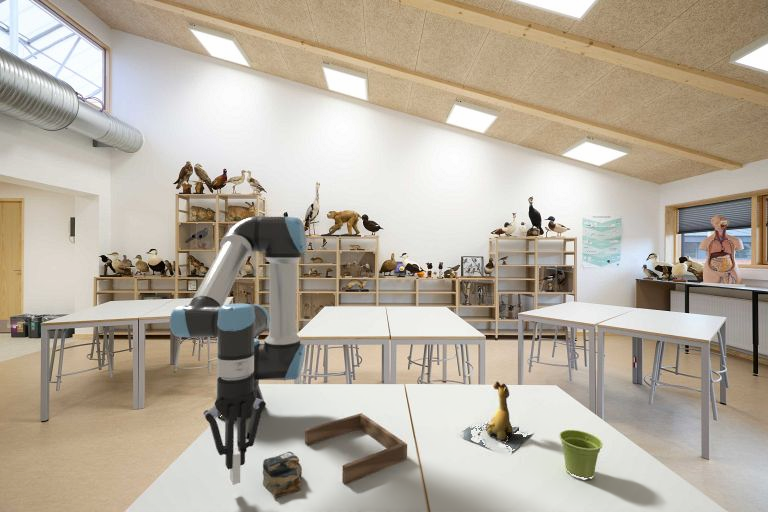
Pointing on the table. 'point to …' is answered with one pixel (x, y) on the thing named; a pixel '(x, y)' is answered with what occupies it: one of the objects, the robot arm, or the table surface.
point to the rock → (282, 474)
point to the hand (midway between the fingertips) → (235, 480)
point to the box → (369, 463)
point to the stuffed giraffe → (500, 422)
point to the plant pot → (580, 452)
